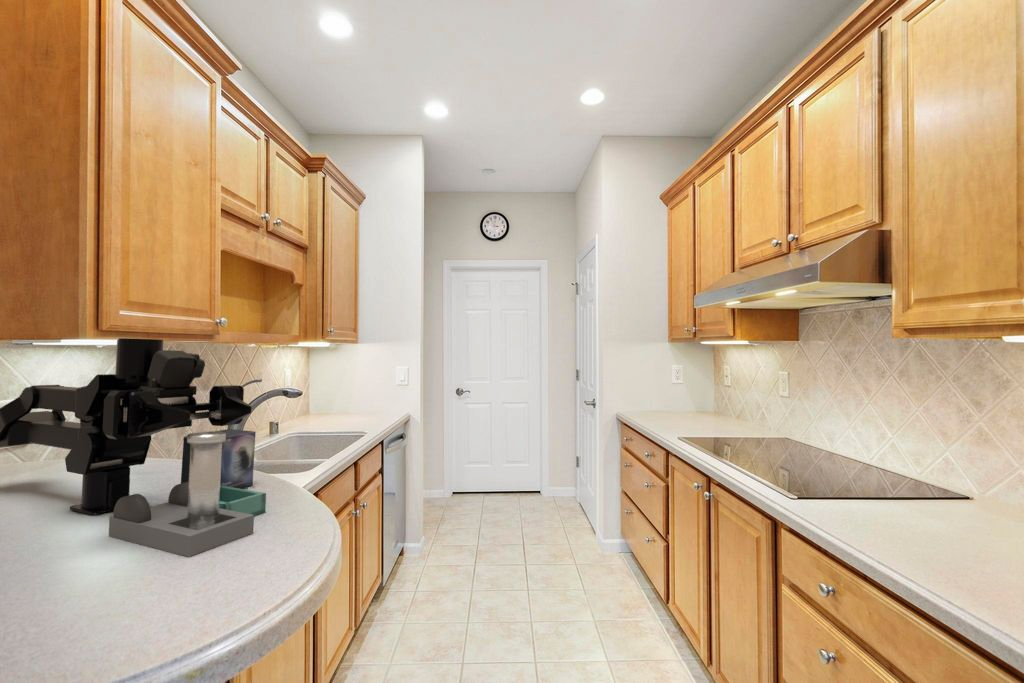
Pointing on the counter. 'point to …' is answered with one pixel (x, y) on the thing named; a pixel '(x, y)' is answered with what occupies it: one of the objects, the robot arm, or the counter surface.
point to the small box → (230, 459)
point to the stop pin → (204, 478)
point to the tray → (242, 500)
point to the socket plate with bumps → (174, 524)
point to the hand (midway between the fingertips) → (221, 412)
